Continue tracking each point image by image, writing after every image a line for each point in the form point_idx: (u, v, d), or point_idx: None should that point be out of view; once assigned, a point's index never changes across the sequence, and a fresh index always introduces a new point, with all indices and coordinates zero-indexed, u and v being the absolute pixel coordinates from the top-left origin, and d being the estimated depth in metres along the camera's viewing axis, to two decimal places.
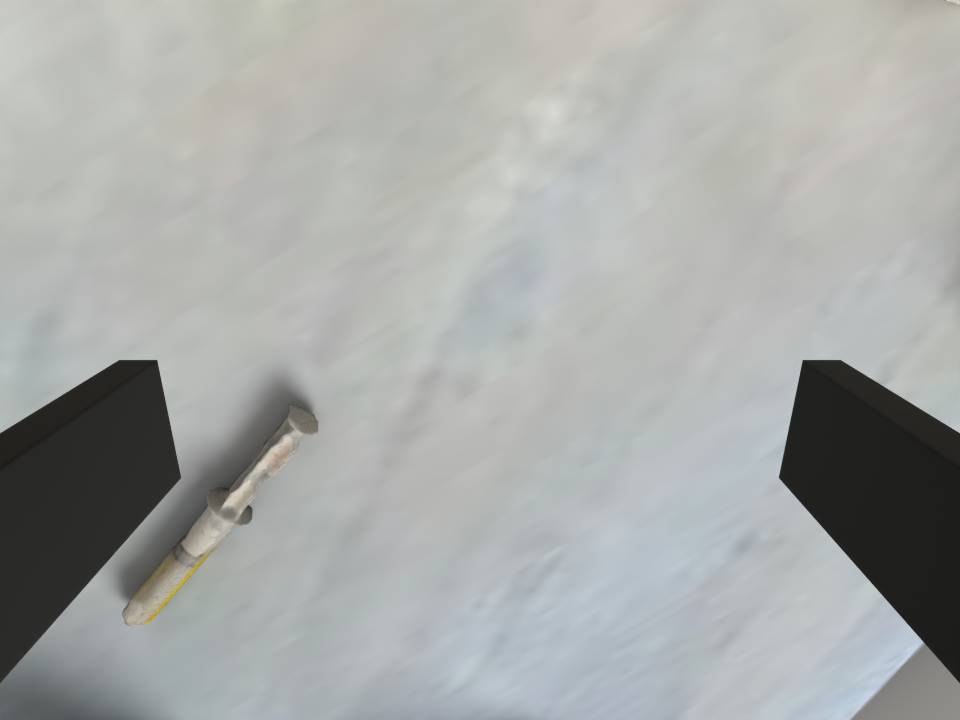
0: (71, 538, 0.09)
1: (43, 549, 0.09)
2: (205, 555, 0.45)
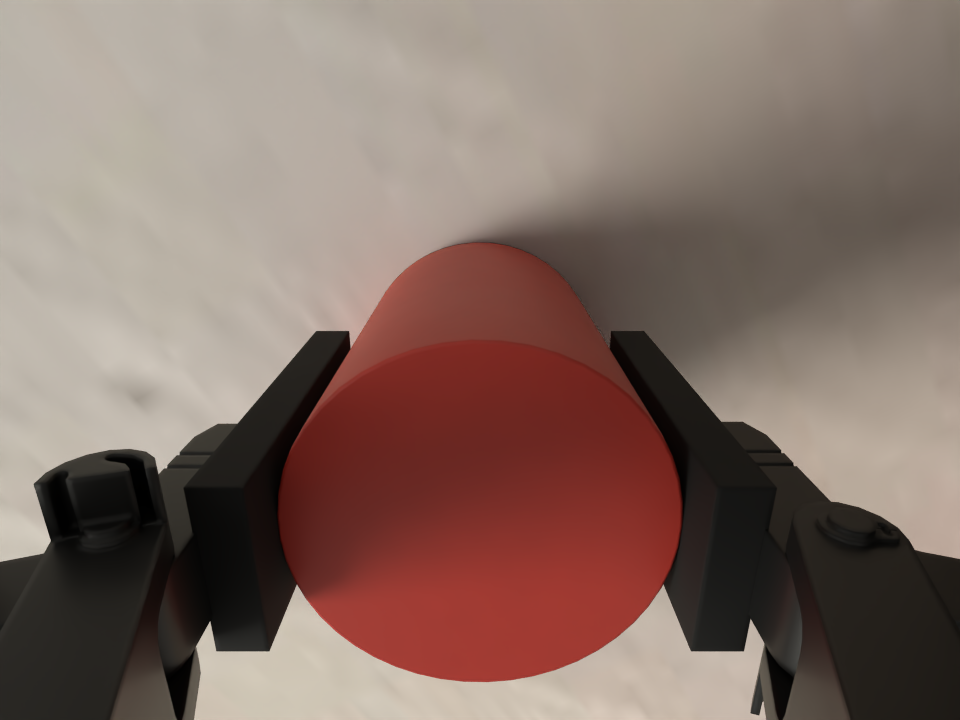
0: None
1: None
2: None
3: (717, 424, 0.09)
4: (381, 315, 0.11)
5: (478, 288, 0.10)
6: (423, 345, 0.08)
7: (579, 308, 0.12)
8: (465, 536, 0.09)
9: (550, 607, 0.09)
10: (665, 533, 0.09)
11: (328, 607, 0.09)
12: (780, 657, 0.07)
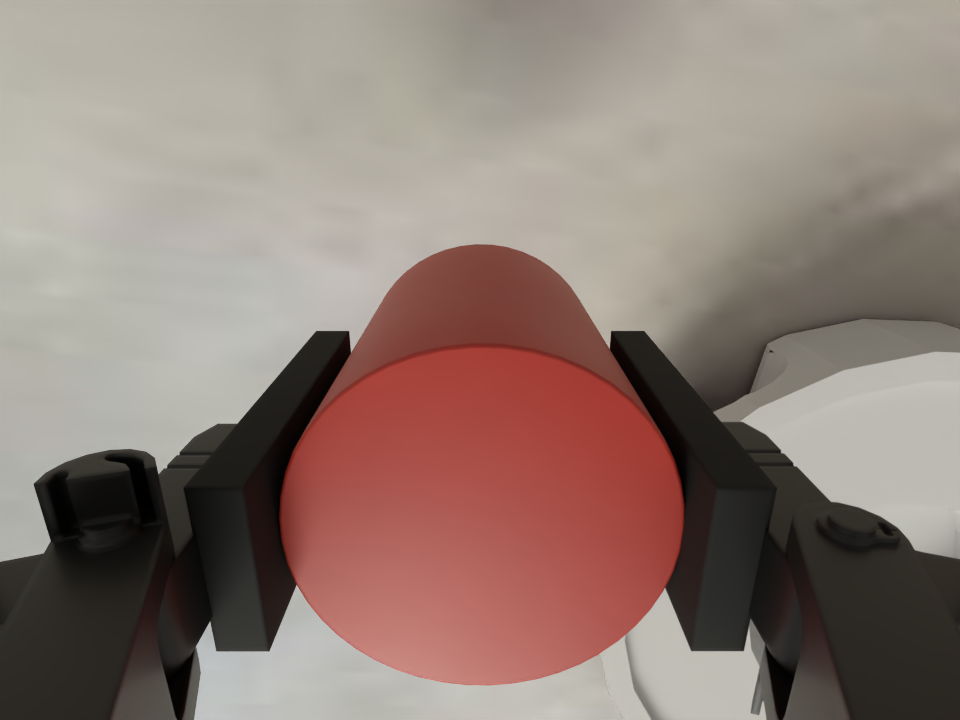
0: None
1: None
2: None
3: (717, 424, 0.09)
4: (382, 318, 0.11)
5: (479, 291, 0.10)
6: (425, 349, 0.08)
7: (580, 310, 0.12)
8: (467, 539, 0.09)
9: (552, 610, 0.09)
10: (667, 536, 0.09)
11: (330, 610, 0.09)
12: (780, 657, 0.07)
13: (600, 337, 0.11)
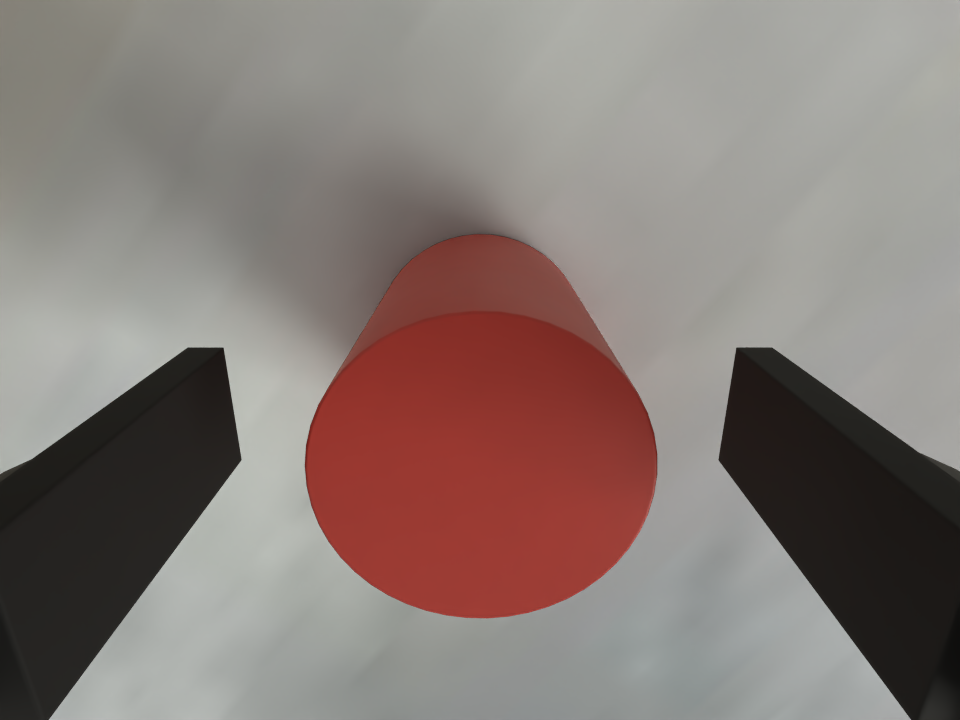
0: (160, 510, 0.10)
1: (140, 518, 0.09)
2: None
3: (925, 462, 0.08)
4: (392, 297, 0.12)
5: (479, 271, 0.12)
6: (432, 316, 0.09)
7: (570, 292, 0.14)
8: (468, 485, 0.10)
9: (542, 549, 0.11)
10: (642, 482, 0.10)
11: (348, 549, 0.11)
12: None
13: (587, 314, 0.13)
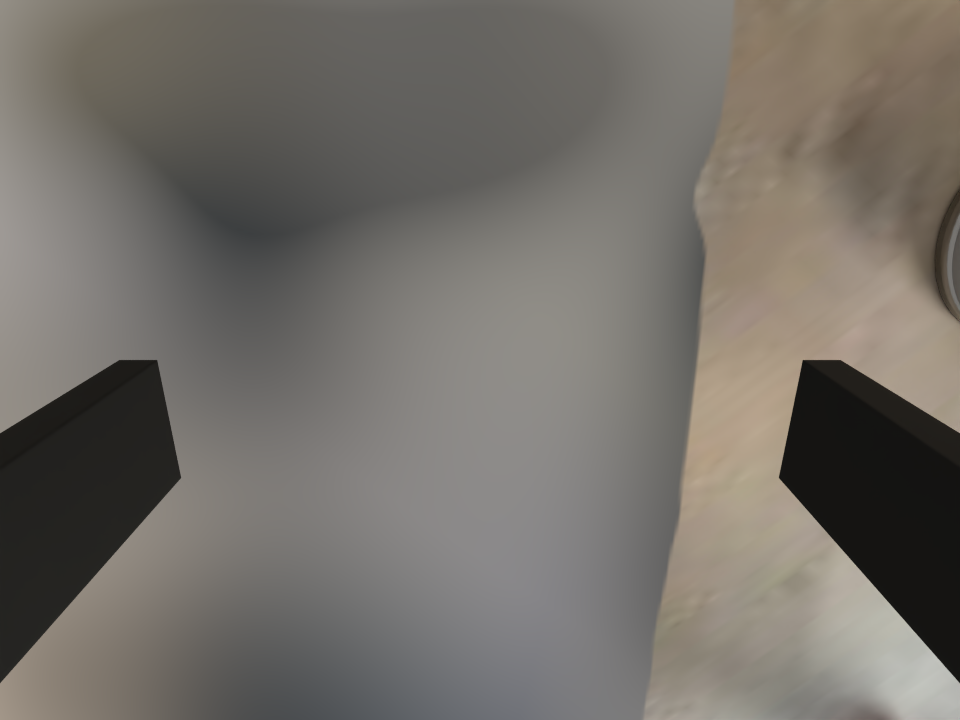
0: (71, 538, 0.09)
1: (43, 549, 0.09)
2: None
3: None
4: None
5: None
6: None
7: None
8: None
9: None
10: None
11: None
12: None
13: None
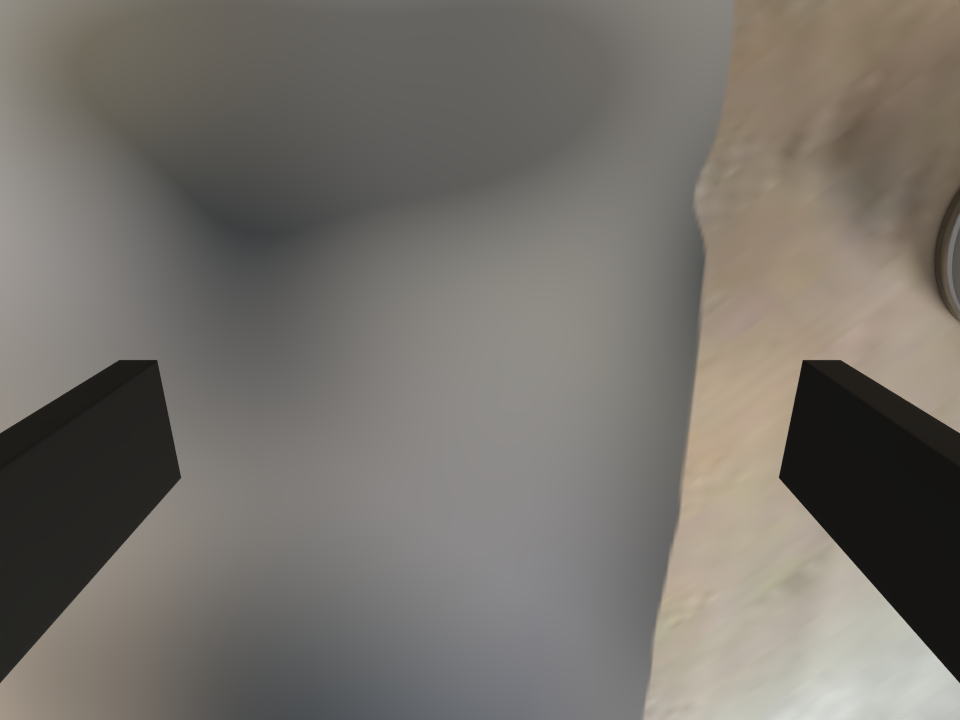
0: (71, 538, 0.09)
1: (43, 549, 0.09)
2: None
3: None
4: None
5: None
6: None
7: None
8: None
9: None
10: None
11: None
12: None
13: None
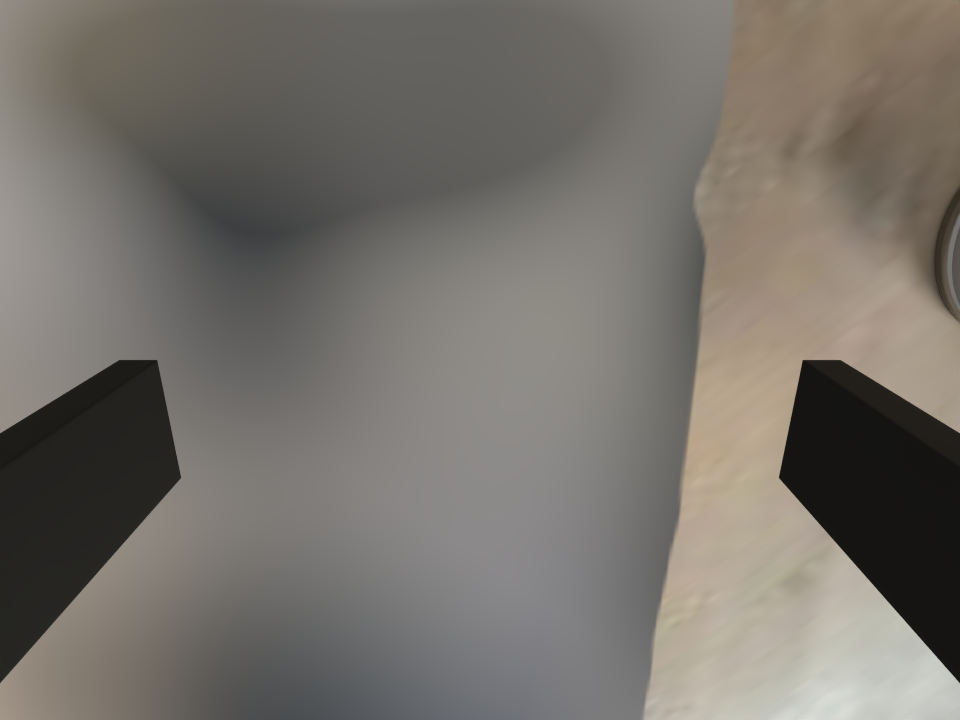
0: (71, 538, 0.09)
1: (43, 549, 0.09)
2: None
3: None
4: None
5: None
6: None
7: None
8: None
9: None
10: None
11: None
12: None
13: None
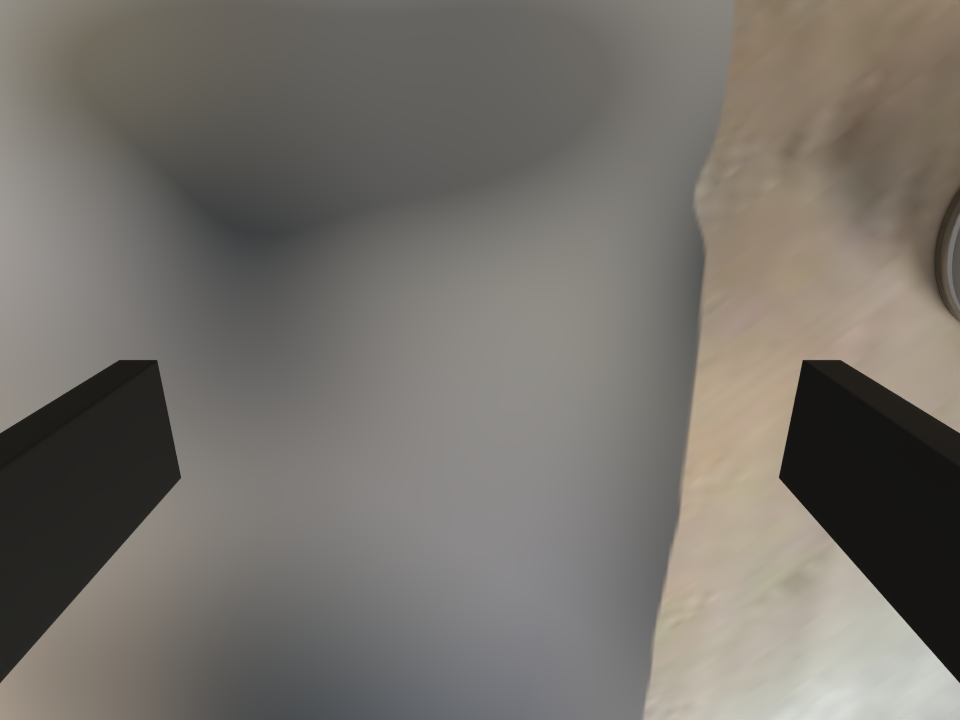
0: (71, 538, 0.09)
1: (43, 549, 0.09)
2: None
3: None
4: None
5: None
6: None
7: None
8: None
9: None
10: None
11: None
12: None
13: None
